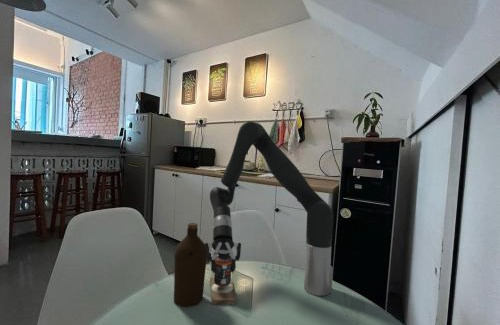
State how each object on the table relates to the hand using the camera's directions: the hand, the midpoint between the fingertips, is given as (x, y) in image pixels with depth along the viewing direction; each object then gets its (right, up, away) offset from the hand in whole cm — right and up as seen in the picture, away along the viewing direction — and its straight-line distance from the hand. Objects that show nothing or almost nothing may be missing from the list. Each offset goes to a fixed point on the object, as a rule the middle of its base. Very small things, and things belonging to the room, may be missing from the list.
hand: (223, 271), depth 85 cm
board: (-1, -8, +1) cm, 8 cm away
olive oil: (-11, -7, -4) cm, 14 cm away
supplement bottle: (-1, -5, +2) cm, 5 cm away
